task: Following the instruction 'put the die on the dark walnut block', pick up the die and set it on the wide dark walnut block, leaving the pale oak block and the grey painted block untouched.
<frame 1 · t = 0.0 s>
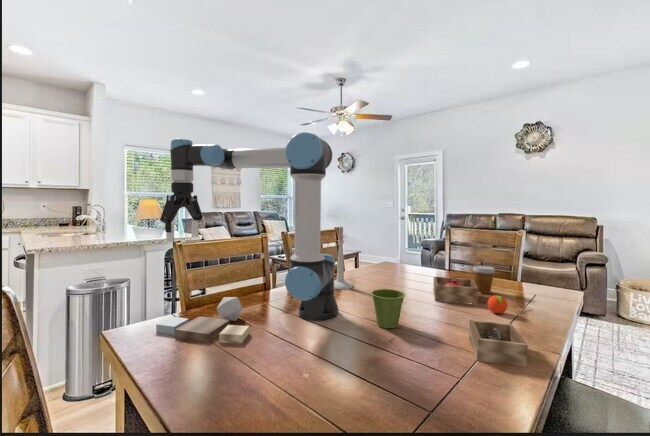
hand: (183, 239, 124), 28 cm above the table, tool pointing down, fingers open, 13 cm apart
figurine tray: (495, 351, 96), on the table
candlestick: (340, 286, 165), on the table
clementine: (497, 314, 128), on the table
walnut block: (203, 333, 108), on the table
grey block: (173, 330, 110), on the table
disposable coffee cup: (482, 292, 157), on the table
wooden box: (454, 297, 148), on the table
butter dish: (453, 298, 148), resting in wooden box
plant pot: (387, 325, 116), on the table
oak block: (234, 339, 104), on the table
die: (229, 319, 119), on the table
eagle figurine: (495, 352, 96), resting in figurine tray
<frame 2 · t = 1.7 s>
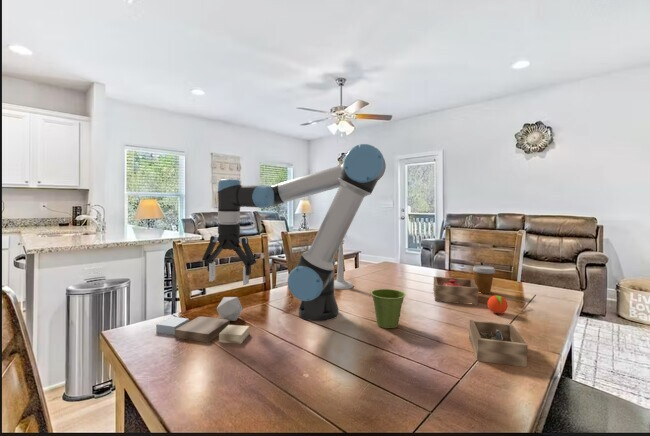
hand: (228, 282, 118), 13 cm above the table, tool pointing down, fingers open, 13 cm apart
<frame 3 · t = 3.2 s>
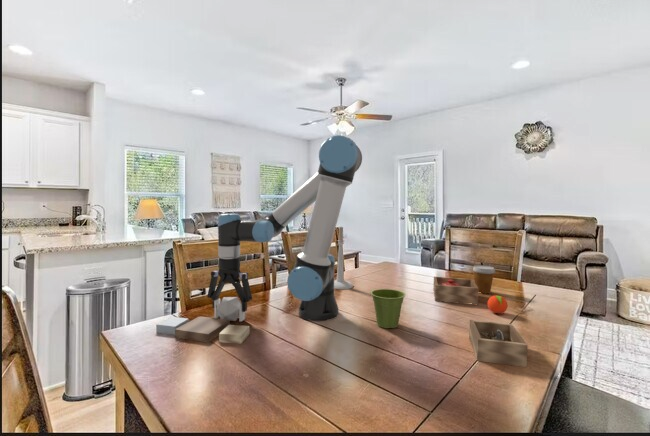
hand: (229, 318, 119), 0 cm above the table, tool pointing down, fingers open, 9 cm apart
die: (229, 319, 119), on the table, touching gripper
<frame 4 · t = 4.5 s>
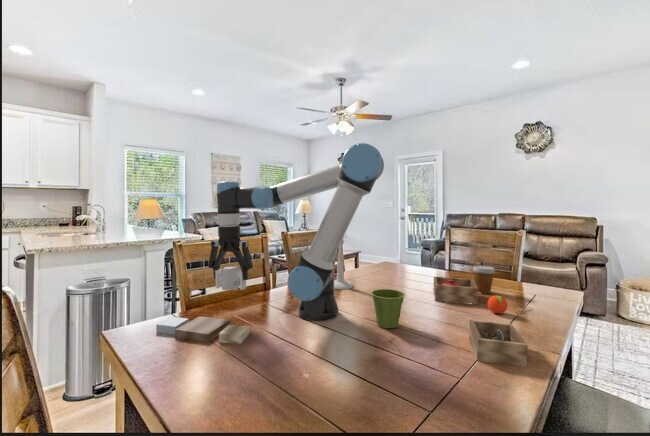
hand: (231, 288, 118), 11 cm above the table, tool pointing down, fingers closed on die, 9 cm apart
die: (231, 289, 118), point 11 cm above the table, touching gripper
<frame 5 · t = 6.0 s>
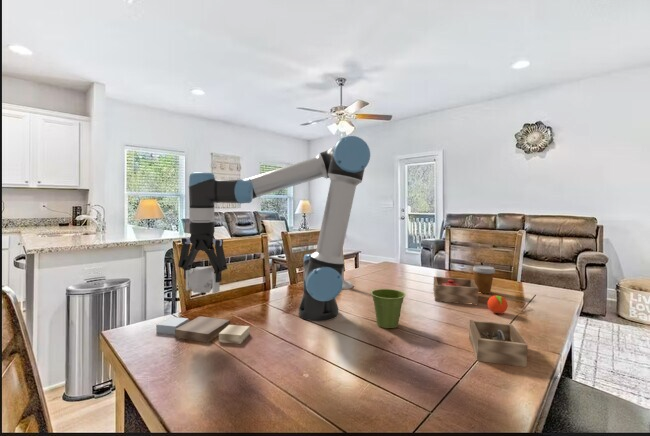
hand: (202, 290, 107), 14 cm above the table, tool pointing down, fingers closed on die, 9 cm apart
die: (202, 291, 107), point 13 cm above the table, touching gripper
when the fingers open (4 cm above the table, at t = 7.7 s): die drops 2 cm, resting on walnut block.
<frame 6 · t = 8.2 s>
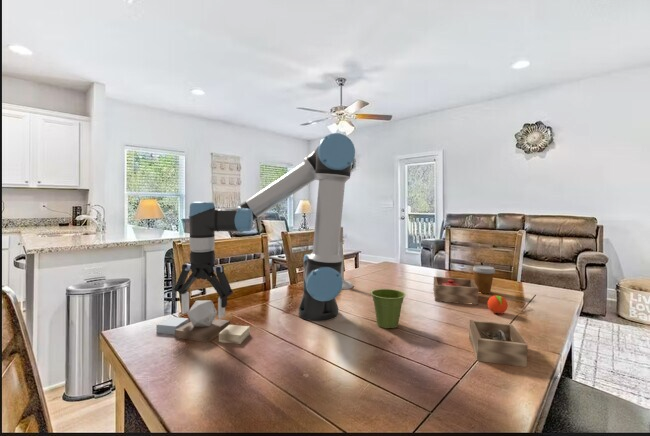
hand: (203, 314, 107), 6 cm above the table, tool pointing down, fingers open, 13 cm apart
walnut block: (203, 334, 108), on the table, touching die
die: (203, 325, 108), point 2 cm above the table, touching walnut block
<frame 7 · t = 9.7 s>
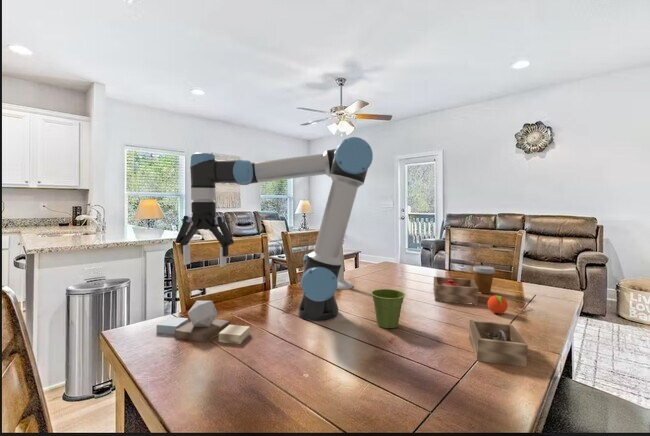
hand: (204, 265, 110), 21 cm above the table, tool pointing down, fingers open, 13 cm apart
eagle figurine: (499, 354, 95), resting in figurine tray
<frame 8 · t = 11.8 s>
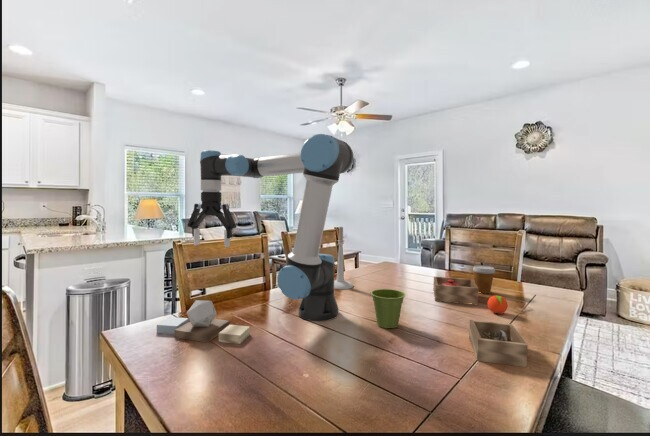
hand: (211, 245, 129), 25 cm above the table, tool pointing down, fingers open, 13 cm apart
walnut block: (203, 334, 108), on the table
die: (201, 325, 108), point 2 cm above the table
eagle figurine: (499, 354, 95), resting in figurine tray
at the end: die inside the target area on the walnut block (0.4 cm from its centre), point 2.9 cm above the walnut block's base; oak block moved 0.4 cm from its start; grey block moved 0.4 cm from its start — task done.
